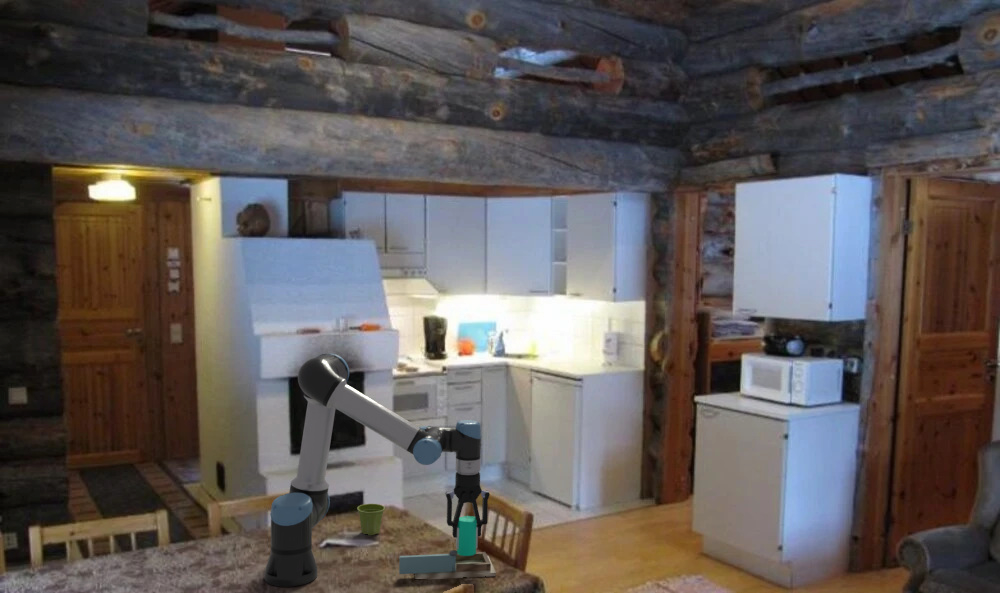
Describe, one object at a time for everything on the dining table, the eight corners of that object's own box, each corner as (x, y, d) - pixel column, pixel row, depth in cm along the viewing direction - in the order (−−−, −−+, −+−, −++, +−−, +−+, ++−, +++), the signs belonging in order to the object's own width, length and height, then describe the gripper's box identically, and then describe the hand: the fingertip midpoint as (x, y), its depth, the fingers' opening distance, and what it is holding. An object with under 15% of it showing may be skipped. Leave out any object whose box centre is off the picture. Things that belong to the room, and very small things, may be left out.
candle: (459, 556, 245) (459, 517, 245) (454, 549, 251) (455, 511, 250) (478, 555, 247) (479, 516, 246) (473, 548, 253) (474, 510, 252)
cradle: (415, 580, 239) (415, 570, 239) (412, 562, 253) (412, 552, 253) (495, 576, 244) (496, 566, 244) (488, 558, 257) (488, 549, 257)
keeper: (457, 572, 243) (458, 552, 242) (399, 574, 240) (399, 555, 239) (456, 569, 245) (457, 550, 245) (399, 571, 242) (399, 552, 242)
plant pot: (385, 528, 284) (385, 503, 284) (383, 537, 275) (383, 512, 275) (358, 528, 284) (358, 503, 283) (355, 537, 274) (355, 512, 274)
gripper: (439, 475, 242) (438, 552, 243) (499, 474, 246) (497, 550, 247) (437, 469, 250) (436, 544, 251) (494, 467, 253) (493, 541, 254)
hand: (466, 547), depth 249 cm, fingers closed on candle, 5 cm apart
